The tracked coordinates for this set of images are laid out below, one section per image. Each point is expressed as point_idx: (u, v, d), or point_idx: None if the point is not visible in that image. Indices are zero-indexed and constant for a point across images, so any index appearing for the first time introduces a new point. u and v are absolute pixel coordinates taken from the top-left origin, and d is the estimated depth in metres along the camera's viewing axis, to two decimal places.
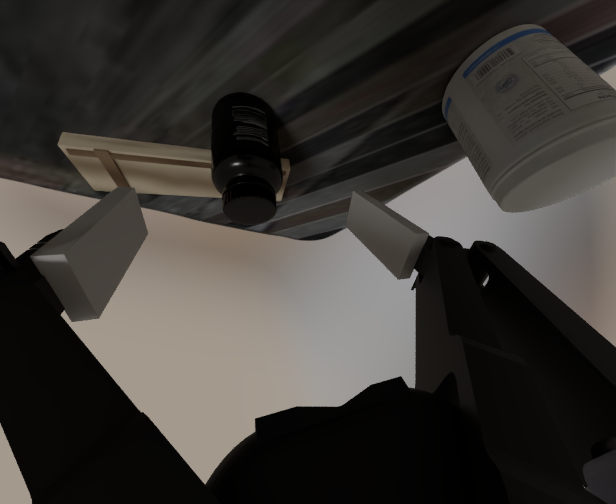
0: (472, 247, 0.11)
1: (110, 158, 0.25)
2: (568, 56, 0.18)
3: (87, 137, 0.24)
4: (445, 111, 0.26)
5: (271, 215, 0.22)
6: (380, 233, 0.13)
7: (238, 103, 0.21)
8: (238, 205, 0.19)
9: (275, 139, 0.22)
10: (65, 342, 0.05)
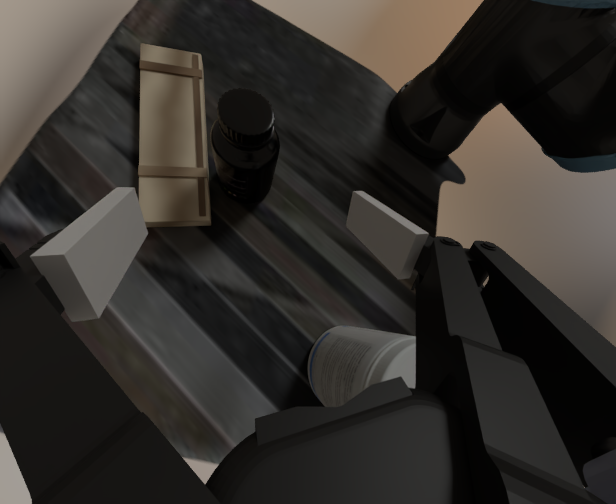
0: (472, 247, 0.11)
1: (194, 75, 0.29)
2: None
3: (203, 77, 0.32)
4: (318, 342, 0.27)
5: (243, 130, 0.19)
6: (380, 233, 0.13)
7: None
8: (257, 101, 0.20)
9: (267, 182, 0.26)
10: (65, 342, 0.05)
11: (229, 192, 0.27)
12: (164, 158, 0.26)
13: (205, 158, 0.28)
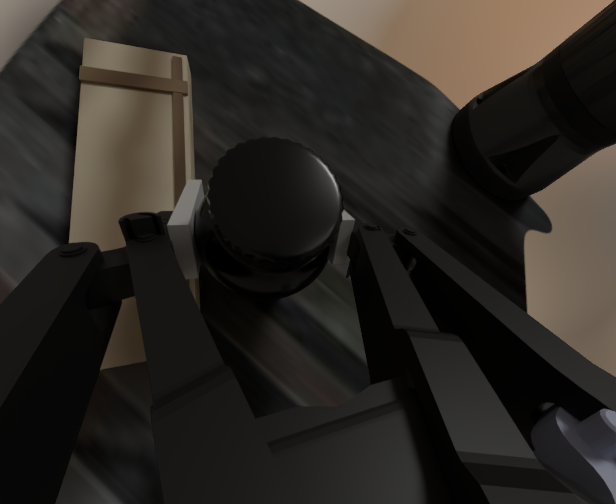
0: (397, 234, 0.11)
1: (174, 90, 0.18)
2: None
3: (190, 91, 0.20)
4: None
5: (274, 253, 0.07)
6: None
7: None
8: (304, 168, 0.08)
9: None
10: (184, 295, 0.06)
11: None
12: (117, 240, 0.15)
13: None
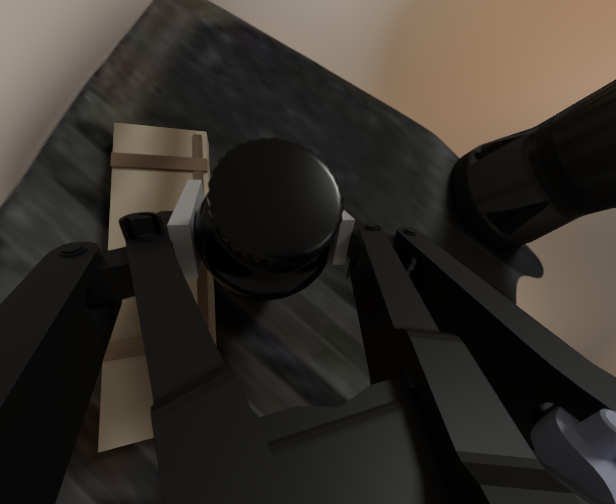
0: (397, 234, 0.11)
1: (195, 168, 0.20)
2: None
3: (208, 161, 0.22)
4: None
5: (274, 253, 0.07)
6: None
7: None
8: (304, 168, 0.08)
9: None
10: (184, 295, 0.06)
11: None
12: None
13: (211, 307, 0.18)
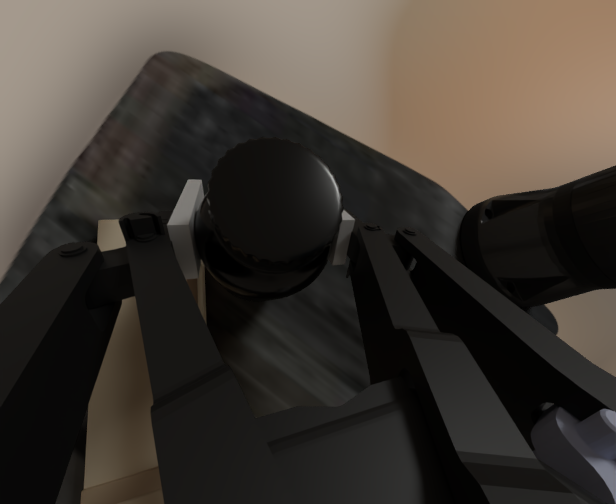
0: (397, 235, 0.11)
1: None
2: None
3: None
4: None
5: (274, 253, 0.07)
6: None
7: None
8: (304, 168, 0.08)
9: None
10: (184, 295, 0.06)
11: (233, 294, 0.16)
12: (132, 453, 0.15)
13: None
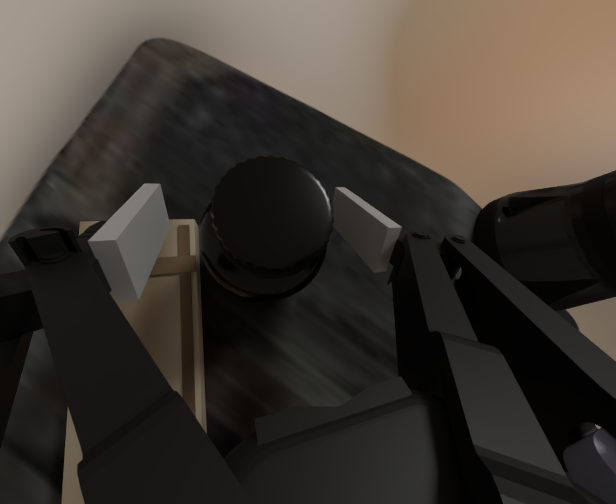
0: (444, 241, 0.11)
1: (181, 270, 0.16)
2: None
3: (198, 250, 0.18)
4: None
5: (270, 261, 0.08)
6: (358, 228, 0.13)
7: None
8: (298, 183, 0.09)
9: None
10: (114, 320, 0.05)
11: (234, 295, 0.17)
12: None
13: None
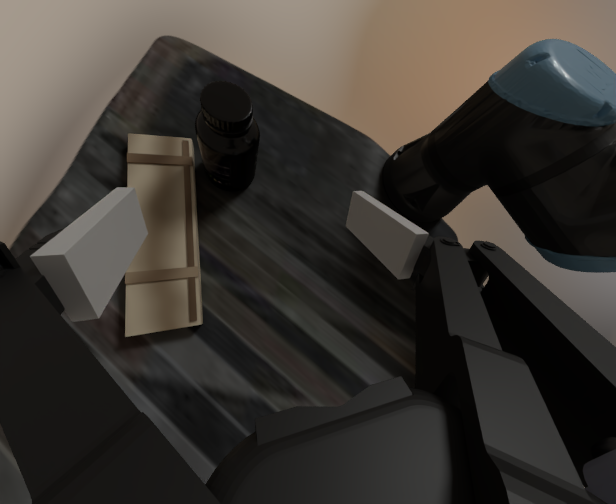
0: (472, 247, 0.11)
1: (184, 163, 0.29)
2: None
3: (193, 159, 0.31)
4: None
5: (223, 118, 0.21)
6: (380, 233, 0.13)
7: None
8: (237, 92, 0.22)
9: (249, 169, 0.28)
10: (65, 342, 0.05)
11: (214, 179, 0.29)
12: (153, 260, 0.25)
13: (196, 254, 0.27)
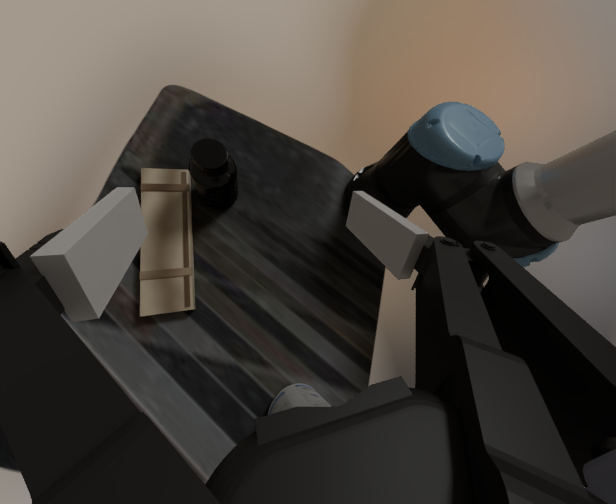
0: (472, 247, 0.11)
1: (182, 189, 0.38)
2: None
3: (190, 185, 0.41)
4: (275, 400, 0.35)
5: (207, 166, 0.30)
6: (380, 233, 0.13)
7: None
8: (217, 146, 0.31)
9: (230, 194, 0.38)
10: (65, 342, 0.05)
11: (205, 201, 0.39)
12: (159, 262, 0.35)
13: (190, 258, 0.37)
